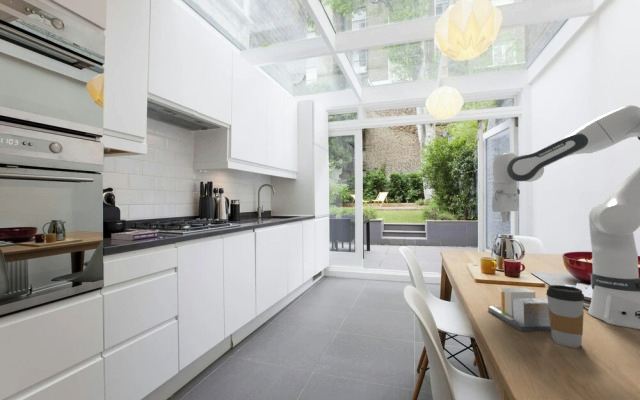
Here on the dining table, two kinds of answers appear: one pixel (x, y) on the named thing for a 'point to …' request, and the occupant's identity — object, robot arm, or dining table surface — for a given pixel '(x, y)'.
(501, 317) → the base
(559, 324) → the coffee cup
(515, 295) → the cream rectangular block
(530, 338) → the dining table surface
